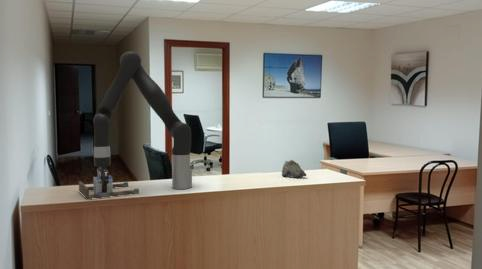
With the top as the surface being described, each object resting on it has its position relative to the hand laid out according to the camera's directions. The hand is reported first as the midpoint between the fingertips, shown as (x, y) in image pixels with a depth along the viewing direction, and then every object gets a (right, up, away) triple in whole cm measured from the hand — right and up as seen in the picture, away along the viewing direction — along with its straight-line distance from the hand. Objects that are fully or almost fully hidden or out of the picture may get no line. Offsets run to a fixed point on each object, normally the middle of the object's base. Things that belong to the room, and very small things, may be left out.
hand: (103, 190), depth 212 cm
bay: (+2, -1, +3) cm, 4 cm away
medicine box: (0, -2, 0) cm, 2 cm away
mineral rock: (+96, +2, +41) cm, 104 cm away
